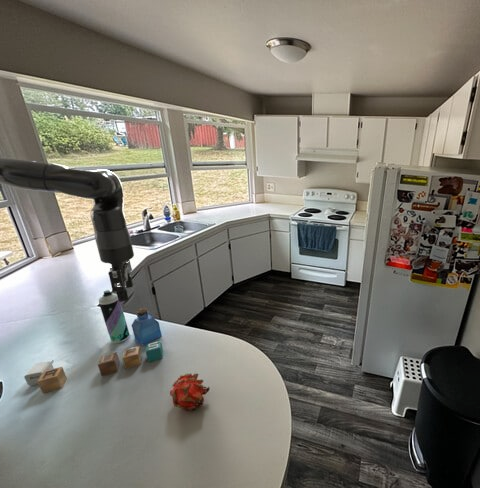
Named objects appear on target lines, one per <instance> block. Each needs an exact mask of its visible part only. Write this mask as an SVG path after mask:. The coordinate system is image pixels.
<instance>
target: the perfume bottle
mask: <svg viewBox="0 0 480 488" xmlns="http://www.w3.org/2000/svg"><path fill="white" fill-rule="evenodd" d="M131 328H132V329H131V330H132V333H133V336H134V339H135V340H136V341H137V342H138V343H140V344H141V345H142V346H147V344H149V343H152V342H154V341H156V340H157V339H159V338H160V337H162V331H161V326H160V323H159V321H158V320H157V319H156V318H154V317H153V316H151V315H150V313H149V310H148V308H147V307H142V308H139V309H137V310H136V317H135V319H133V322H132V323H131Z"/></svg>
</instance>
